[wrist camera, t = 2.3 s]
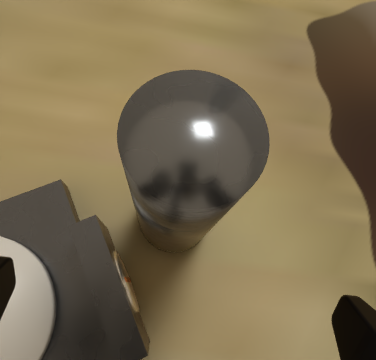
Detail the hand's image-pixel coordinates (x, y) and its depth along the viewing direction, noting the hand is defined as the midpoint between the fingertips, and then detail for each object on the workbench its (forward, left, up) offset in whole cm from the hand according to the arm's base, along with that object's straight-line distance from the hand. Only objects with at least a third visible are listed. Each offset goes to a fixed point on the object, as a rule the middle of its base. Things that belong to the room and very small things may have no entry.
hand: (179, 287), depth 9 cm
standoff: (+4, -2, -11) cm, 12 cm away
